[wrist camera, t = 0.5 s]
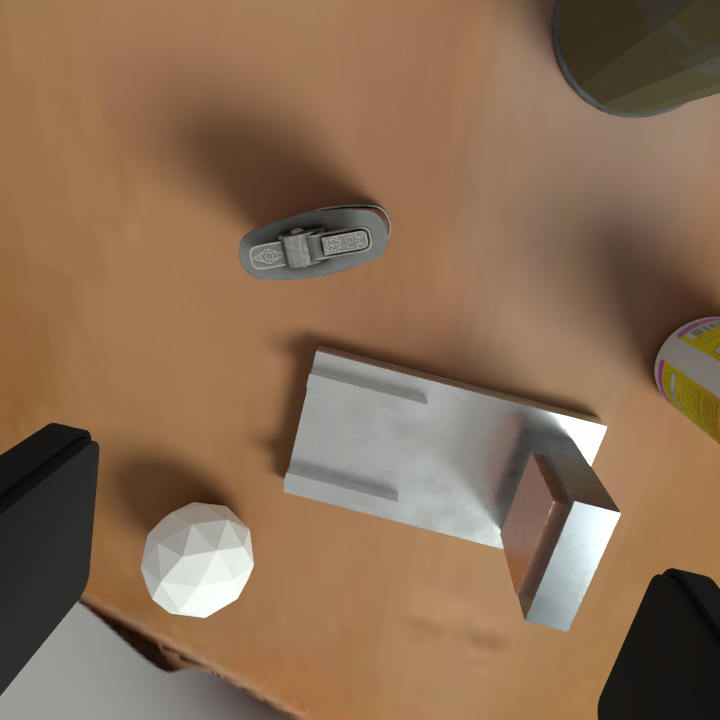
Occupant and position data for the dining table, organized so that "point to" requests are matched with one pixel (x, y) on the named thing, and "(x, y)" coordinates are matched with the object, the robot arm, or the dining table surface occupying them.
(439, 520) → the finger rail
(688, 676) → the robot arm
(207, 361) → the dining table surface
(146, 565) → the geometric ball
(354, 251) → the lighter
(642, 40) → the canister
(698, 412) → the supplement bottle
